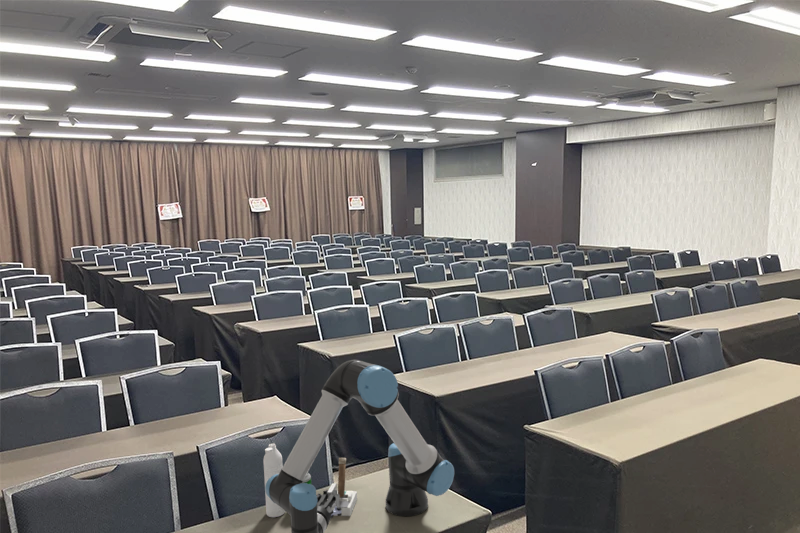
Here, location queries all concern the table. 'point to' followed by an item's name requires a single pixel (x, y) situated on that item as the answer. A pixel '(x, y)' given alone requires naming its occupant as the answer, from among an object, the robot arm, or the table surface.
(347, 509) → the switch box
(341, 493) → the lever
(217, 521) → the table surface
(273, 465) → the water bottle
